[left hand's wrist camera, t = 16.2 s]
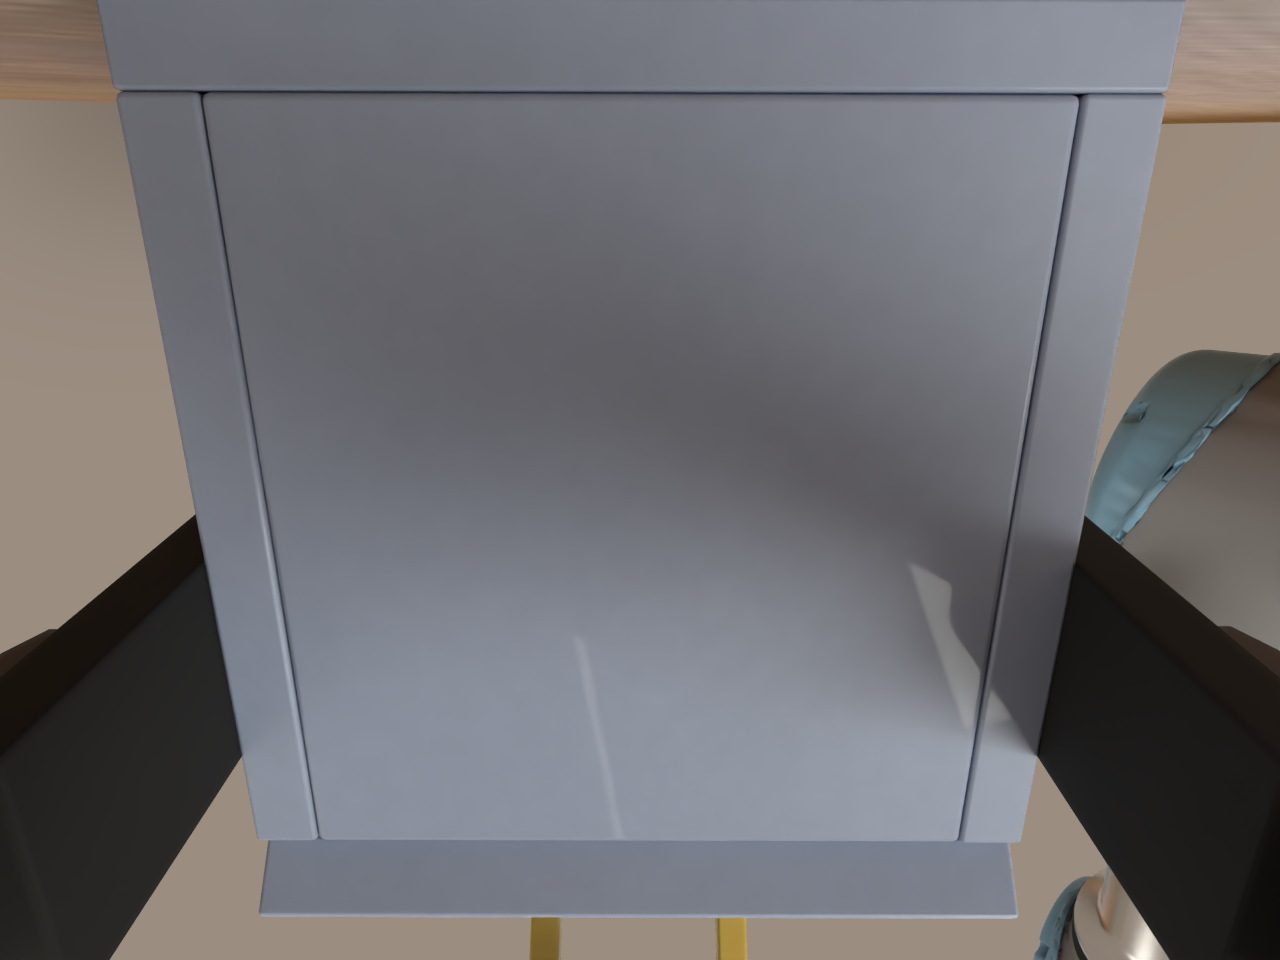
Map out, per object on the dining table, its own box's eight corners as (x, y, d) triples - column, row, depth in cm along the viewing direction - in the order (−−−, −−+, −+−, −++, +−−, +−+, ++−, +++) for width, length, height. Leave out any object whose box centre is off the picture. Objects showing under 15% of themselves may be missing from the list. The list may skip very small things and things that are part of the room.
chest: (856, 92, 20) (824, 486, 24) (425, 90, 20) (455, 485, 24) (1190, -5, 8) (1021, 844, 11) (92, -8, 8) (255, 842, 11)
